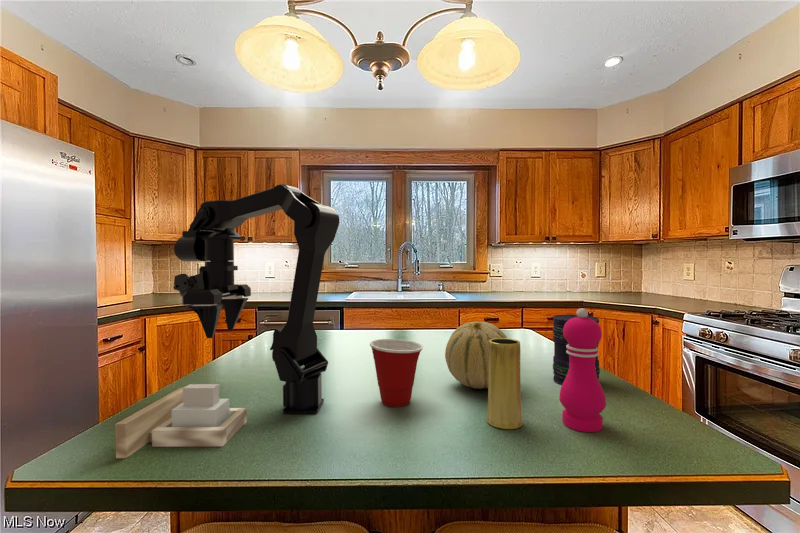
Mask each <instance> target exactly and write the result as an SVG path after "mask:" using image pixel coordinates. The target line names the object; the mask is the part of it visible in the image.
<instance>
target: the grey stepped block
mask: <svg viewBox="0 0 800 533" xmlns="http://www.w3.org/2000/svg"><path fill="white" fill-rule="evenodd" d="M182 388H183V403H182V404H180V405H179V406H177V407H176V408H174V409H172V427H219V426H220V425H221V424H223V423H224V422H225V421H226V420H227V419H228V418H229V417H230V408H231V406H230V398H220V384H219V383H214V384H213V383H207V384H206V383H199V384H198V383H197V384H196V383H191V384H190V383H189V384H188V385H186V386H184V387H182Z"/></svg>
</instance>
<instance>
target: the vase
mask: <svg viewBox="0 0 800 533" xmlns="http://www.w3.org/2000/svg"><path fill="white" fill-rule="evenodd" d="M487 390H488V391H487V394H488V395H487V415H486V422H487V423H488V424H489V425H490V426H492V427H494V428H496V429H501V430H515V429H519V428H521V427H523V425H524V420H523V413H522V412H523V411H522V410H523V409H522V394H521V392H522V391H521V341H520V340H518V339H515V338H508V337H507V338H495V339H491V340H489V383H488V388H487Z"/></svg>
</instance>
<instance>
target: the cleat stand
mask: <svg viewBox="0 0 800 533" xmlns="http://www.w3.org/2000/svg"><path fill="white" fill-rule="evenodd" d="M183 388H184V387H178V388H177V389H175V390H174V391H172V392H169V393H168V394H166V395H164V396H163V397H161V398H159V399H158V400H156V401H154V402H152V403H151V404H149V405H147V406H145V407H143V408H142V409H140V410H138V411H136V412H134V413H132V414H131V415H129V416H127V417H125V418H124V419H122V420H121V421H119V422H117V423H115V425H114V427H115V429H114V430H115V458H116V459H127V458H129V457H130V456H132V455H133V454H134V453H135V452H138V451H139V450H140V449H141V448H143V447H144V446H146V445H147V444H148V443H151V445H152V446H151V447H154V448H155V447H156V448H157V447H162V448H163V447H167V448H170V447H173V448H174V447H181V448H182V447H192V448H194V447H224V446H225V445H226V444H227V443H228V442H229V441H230V440H231V439H232V438H233V437H234V436H235V435H236V434H237V433H238V432H239V431H240V430H241V428H242V427H244V426H245V424H247V422H248V416H247V415H248V409H247V407H230V417H229V418H228V419H227V420H226V421H225V422H224V423H223V424H221V425H220V426H219V427H172V409H174V408H176V407H177V406H179V405H180V404H182V403H183Z"/></svg>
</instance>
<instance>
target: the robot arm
mask: <svg viewBox="0 0 800 533" xmlns="http://www.w3.org/2000/svg"><path fill="white" fill-rule="evenodd" d="M199 206H200V207H199V209H198V210H197V212H196V214H195V216H194V217H193V220H192V222H191V223H190V224H189V228H188V230H184V231H183V230H182V233H181V234H182V236H180V237H179V238H178V239H177V240H176V241H175V244H174V246H173V252H174V255H175V256H176V257H177V259H178V260H180V261H181V262H186V263H187V262H204V265H203V266H201V265H200V267H199V268H198V274H195V275H190V276H189V275H188V274H187V273H180V274H177V275H174V278H173V290H175V291H178V292H179V295H180V297H181V305H183V306H186V308H187V309H190V310H192V311H193V312H194V313H196V315H197V317H198V318H199V321H200V323H201V327H202V328H203V329H202V330H203V332H204V334H205V337H206V338H207V339H213V338H214V336H215V332H216V329H217V327H218V326H217V325H218V322H219V318H220V315H221V312H222V309H223V307H224V315H225V321H226V327H227V328H226V329H227V331H233V330H234V329H235V326H236V324H237V322H238V319H239V317H240V315H241V314H242V311H243V310H244V307H245V305H246V303H247V301H248V300H249V297H251V296H252V290H251V289H252V288H251V287H250V286H249V285H248V284H243V283H241V284H240V283H239V284H237V283H236V284H235V271H238V269H239V268H238V267H239V266H238V265H235V251H234V250H235V246H234V245H235V244H234V243H235V242H234V241H236V240H237V241H239V240H242V236H241V235H240V233H237V231H236V230H235V229H236V228H239V227H240V226H242V225H243V224H244V223H245V221H247V220H249V219H253V218H255V217H258V216H263V215H267V214H270V213H273V212H278V211H281V210H282V211H283V213H284V214H285V215H286V216H287V217H288V218H289V219H291V221H293V235H294V238H295V241H296V244H297V246H298V253H297V259H296V266H295V271H294V278H293V282H292V284H293V285H292V290H291V295H290V303H289V307H288V315H287V320H286V323H285V324H284V325H283V327H279V328H275V329H274V331H273V334H272V344H271V346H270V348H269V350H270V351H272V352H271V357H272V362H274V365H275V369H276V372H277V376H278V379H279V381H280V382H285V383H284V384H283V385H282V406H283V407H284V408H283V410H282V414H318V413H319V411H320V409H321V407H322V406H323V404H324V402H325V398H322V397H323V396H322V392H323V390H322V389H323V388H322V387H323V386H322V385H323V384H322V382H323V381H322V373H324V372H326V371H327V369H328V366H329V361H328V359H327V358H326V357H325V356H324V354H322V352H321V351H320V349H318V335H317V333H316V330H315V327H314V319H315V315H316V314H315V312H316V307H317V300H318V294H319V289H320V284H321V279H322V278H321V277H322V272H323V265H324V260H325V255H326V253H327V251H328V249H329V248H330V246H331V245H332V243H333V242H334V240H335V238H336V235H337V233H338V228H339V226H340V215H339V214H338V213H337V211H336V209H334V208H333V207H331V206H328V205H324V204H321V203H320V202H319V201H316V200H315V199H313V198H312V197H310V196H308V195H307V194H306V193H304V192H302V191H301V190H300V189H299V188H298V187H295V186H291V185H287V184H284V183H280V184H277V185H275V186H274V187H271V188H269V189H265V190H262V191H259V192H254V193H252V194H249V195H245V196H242V197H240V198H237V199H231V200H229V199H228V200H225V199H223V200H220V199H217V200H205V201H204V202H202V203H201V204H200V205H199ZM302 366H304V367H302Z"/></svg>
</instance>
